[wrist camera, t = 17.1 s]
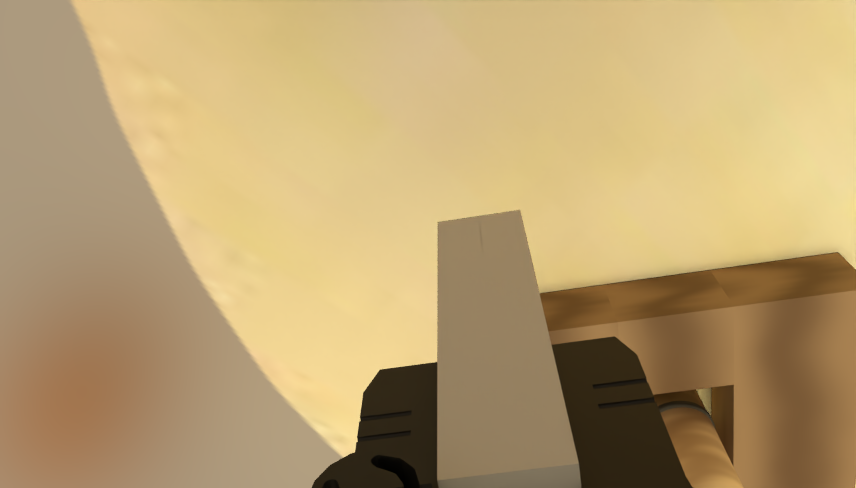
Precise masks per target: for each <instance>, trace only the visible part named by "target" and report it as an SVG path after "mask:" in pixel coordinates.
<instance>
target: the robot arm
mask: <svg viewBox="0 0 856 488" xmlns="http://www.w3.org/2000/svg"><path fill="white" fill-rule="evenodd" d="M360 419H361V422H359V429H358V436H357V438H358V442H357V443H356V450H355V453H352V454H349V455H348V456H346V457H344V458H342V459H340V460H339V461H337V462H335V463H333V464H332V465H330V466H329V467H328V468H327V469H326V470H325V471H324V472H323V473H322V474H321V475H320V476H319V477H318V478H317V479H316V480H315V482H314V484H313V486H312V488H693V487H692V486H691V484H690V482H689V481H688V479H687V477H686V476H685V473H684V471H683V468H682V466H681V463H680V461H679V458H678V456H677V453H676V451H675V448H674V446H673V443H672V441H671V438H670V436H669V433H668V431H667V428H666V426H665V423H664V421H663V418H662V416H661V413H660V411H659V408H658V406H657V403H656V402H655V400H654V396H653V393H652V391H651V388H650V386H649V383H647V378H646V376H645V373H644V371H643V368H642V366H641V363H640V361H639V358H638V356H637V354H636V353H635V352H633V351H632V350H631V349H630V348H629V347H627V346H626V345H625V344H624V343H622V342H621V341H620V340H619V339H618V338H616V337H615V336H613V337H606V338H598V339H591V340H583V341H575V342H568V343H560V344H553V345H551V341H550V337H549V332H548V328H547V324H546V319H545V315H544V311H543V307H542V302H541V298H540V294H539V289H538V285H537V281H536V276H535V272H534V268H533V263H532V259H531V255H530V250H529V246H528V242H527V237H526V233H525V229H524V224H523V220H522V216H521V212H520V210H516V211H509V212H503V213H496V214H489V215H482V216H475V217H469V218H462V219H455V220H448V221H442V222H438V349H437V362H435V363H427V364H420V365H412V366H405V367H397V368H390V369H382V370H379V372H378V373H377V375H376V376H375V377H374V379H373V380H372V382H371V383H370V384H369V386H368V387H367V389H366V390H365V391H364V393H363V400H362V407H361V415H360Z"/></svg>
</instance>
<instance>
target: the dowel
mask: <svg viewBox="0 0 856 488" xmlns="http://www.w3.org/2000/svg"><path fill="white" fill-rule="evenodd" d="M653 396H654V400H655V402H656V403H657V406H658V408H659V411H660V413H661V416H662V418H663V421H664V423H665V426H666V428H667V431H668V433H669V436H670V438H671V441H672V443H673V446H674V448H675V451H676V453H677V456H678V458H679V461H680V463H681V466H682V468H683V471H684V473H685V476H686V477H687V479H688V481H689V482H690V484H691V486H692V487H693V488H743V486H742V484H741V481H740V479H739V477H738V475H737V473H736V471H735V469H734V467H733V465H732V463H731V461H730V459H729V457H728V455H727V453H726V450H725V448H724V446H723V444H722V442H721V440H720V438H719V436H718V434H717V432H716V430H715V425H714V422H713V420H712V418H711V416H710V414H709V413H708V412H707V411H706V409H705V407H704V405H703V403H702V401H701V399H700V397H699V395H698V393H697V391H696V389H695V390H687V391H679V392H671V393H663V394H655V395H653Z"/></svg>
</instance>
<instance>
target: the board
mask: <svg viewBox="0 0 856 488" xmlns="http://www.w3.org/2000/svg"><path fill="white" fill-rule="evenodd" d="M540 298H541V302H542V307H543V311H544V315H545V319H546V324H547V328H548V332H549V337H550V341H551V345H553V344H560V343H568V342H575V341H583V340H591V339H598V338H606V337H613V336H615V337H616V338H618V339H619V340H620V341H621V342H622V343H624V344H625V345H626V346H627V347H629V348H630V349H631V350H632V351H633V352H635V353H636V354H637V356H638V358H639V361H640V363H641V366H642V368H643V371H644V373H645V376H646V378H647V383H649V386H650V388H651V391H652V393H653V395H655V394H663V393H671V392H679V391H687V390H695V389H703V388H711V389H712V420H713V422H714V425H715V430H716V432H717V434H718V436H719V438H720V440H721V442H722V444H723V446H724V448H725V450H726V453H727V455H728V457H729V459H730V461H731V463H732V465H733V467H734V469H735V471H736V473H737V475H738V477H739V479H740V481H741V484H742V486H743V488H855V483H856V270H855V269H854V268H853V267H852V266H851V265H850V264H849V263H848V262H847V261H846V260H845V259H844V258H843V257H842V256H841V255H840V254H839V253H831V254H824V255H817V256H809V257H802V258H795V259H788V260H780V261H773V262H766V263H759V264H751V265H744V266H737V267H730V268H722V269H715V270H708V271H701V272H693V273H686V274H679V275H672V276H664V277H657V278H650V279H643V280H636V281H628V282H621V283H614V284H607V285H599V286H592V287H585V288H578V289H570V290H563V291H556V292H549V293H541V294H540Z"/></svg>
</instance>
